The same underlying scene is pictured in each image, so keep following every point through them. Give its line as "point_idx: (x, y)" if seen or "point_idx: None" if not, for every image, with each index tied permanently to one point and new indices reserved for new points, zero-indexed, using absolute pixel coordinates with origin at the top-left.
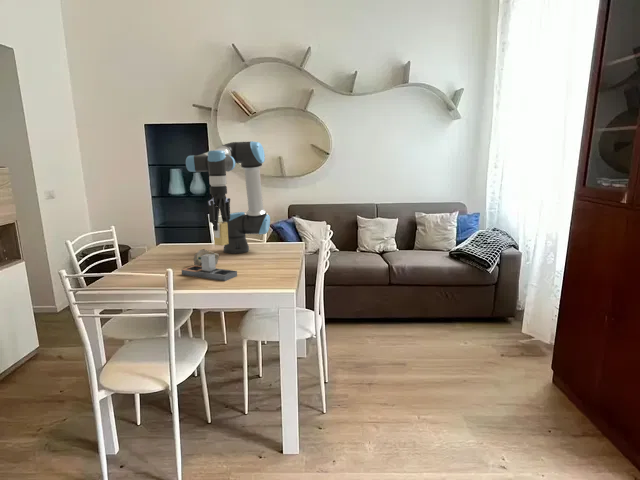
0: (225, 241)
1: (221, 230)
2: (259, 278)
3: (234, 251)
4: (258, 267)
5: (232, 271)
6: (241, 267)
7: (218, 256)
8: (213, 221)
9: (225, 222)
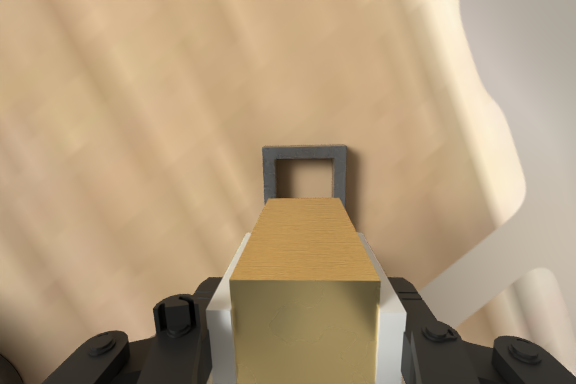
0: (300, 204)
1: (359, 241)
2: (250, 34)
3: (3, 372)
4: (117, 150)
5: (274, 162)
6: (154, 214)
7: (154, 336)
8: (550, 357)
9: (238, 306)
